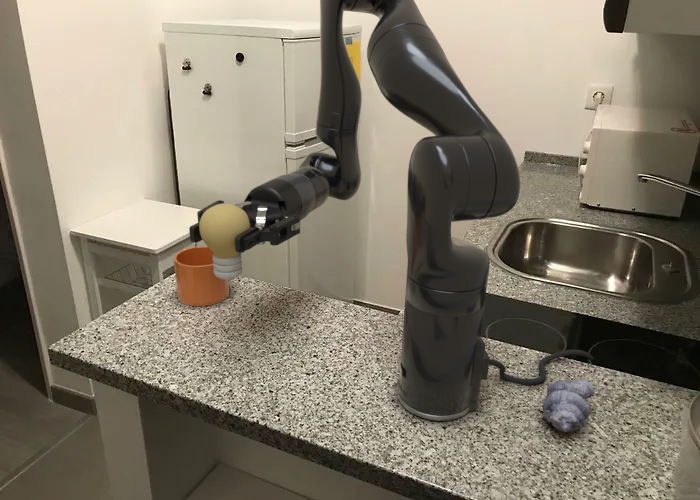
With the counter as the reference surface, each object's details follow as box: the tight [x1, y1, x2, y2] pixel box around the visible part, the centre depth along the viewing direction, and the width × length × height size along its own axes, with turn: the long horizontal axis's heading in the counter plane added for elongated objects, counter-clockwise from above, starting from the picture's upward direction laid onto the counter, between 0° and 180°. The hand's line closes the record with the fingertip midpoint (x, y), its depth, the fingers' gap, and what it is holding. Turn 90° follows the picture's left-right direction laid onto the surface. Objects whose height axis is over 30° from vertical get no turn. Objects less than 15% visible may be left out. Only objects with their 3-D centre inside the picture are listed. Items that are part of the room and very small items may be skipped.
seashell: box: [542, 379, 595, 433], centre depth 70 cm, size 5×5×10 cm
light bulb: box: [199, 203, 250, 281], centre depth 76 cm, size 6×6×10 cm
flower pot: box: [173, 245, 230, 307], centre depth 97 cm, size 8×8×7 cm
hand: (214, 240), depth 74 cm, fingers closed on light bulb, 6 cm apart
